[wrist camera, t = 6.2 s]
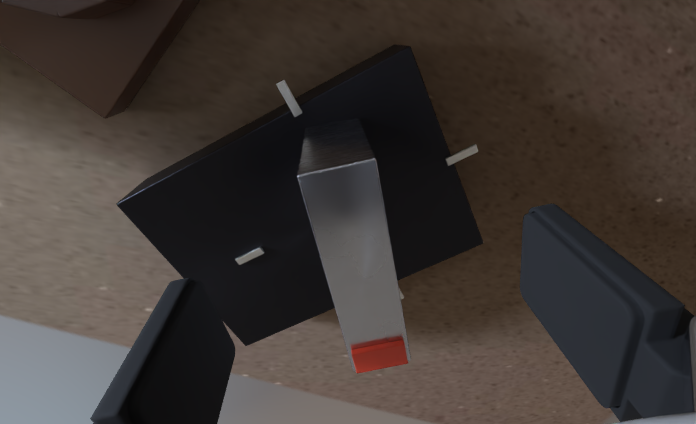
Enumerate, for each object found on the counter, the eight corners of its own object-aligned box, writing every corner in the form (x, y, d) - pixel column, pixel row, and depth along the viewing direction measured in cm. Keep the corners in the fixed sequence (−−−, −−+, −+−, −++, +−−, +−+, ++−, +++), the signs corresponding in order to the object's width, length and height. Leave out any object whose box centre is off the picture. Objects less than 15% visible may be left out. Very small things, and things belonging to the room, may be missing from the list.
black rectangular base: (408, 6, 15) (428, -1, 13) (486, 222, 21) (512, 252, 18) (130, 160, 18) (94, 185, 15) (264, 320, 23) (256, 360, 20)
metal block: (304, 127, 14) (295, 178, 9) (357, 115, 14) (377, 160, 9) (344, 280, 18) (353, 378, 13) (386, 271, 18) (413, 366, 13)
